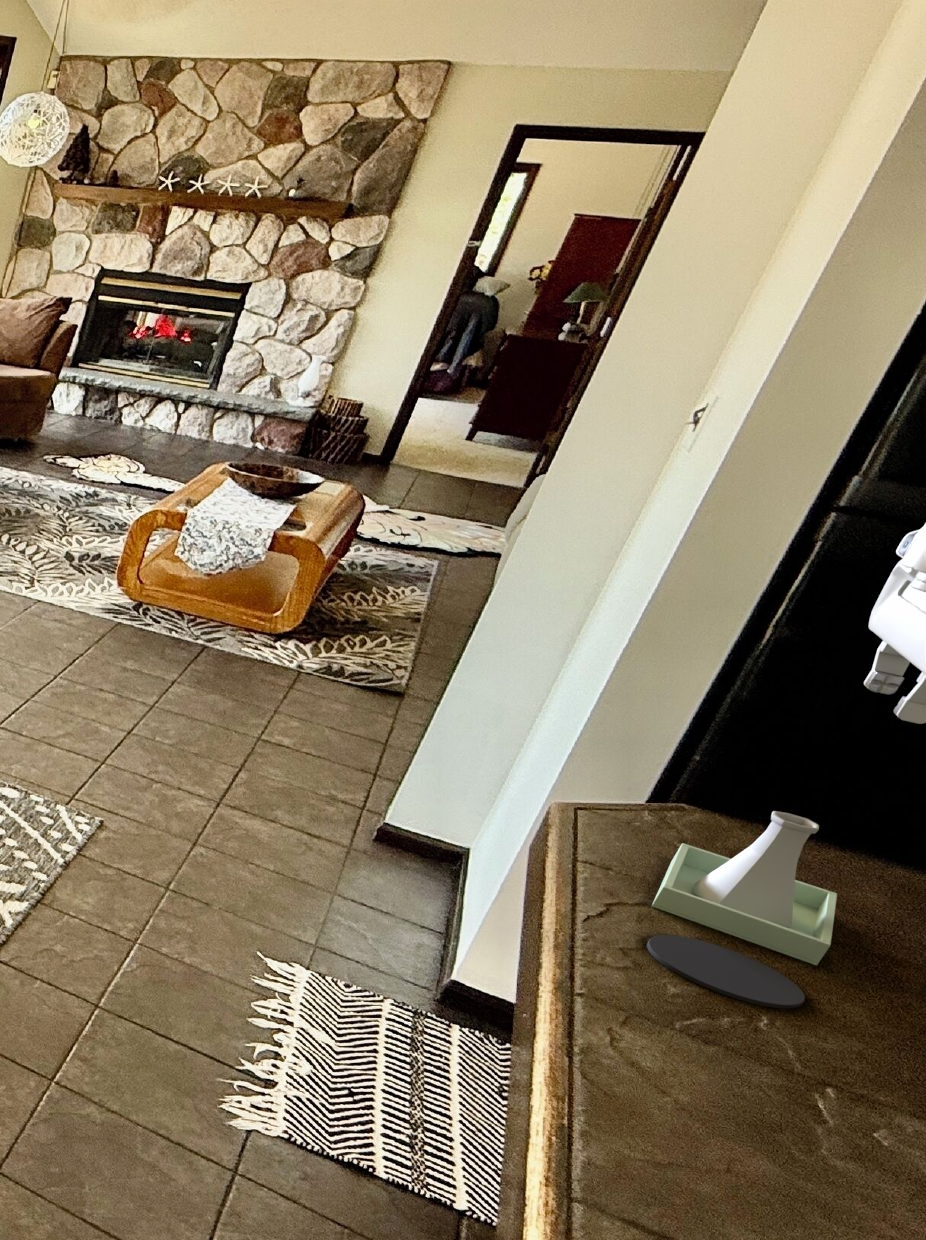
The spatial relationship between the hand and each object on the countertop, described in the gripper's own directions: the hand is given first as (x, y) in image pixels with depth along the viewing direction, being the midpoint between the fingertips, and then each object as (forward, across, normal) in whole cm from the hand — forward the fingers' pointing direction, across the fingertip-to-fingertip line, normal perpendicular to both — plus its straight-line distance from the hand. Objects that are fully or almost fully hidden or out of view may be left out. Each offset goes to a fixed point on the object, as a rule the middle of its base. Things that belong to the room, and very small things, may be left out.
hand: (891, 704), depth 103 cm
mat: (+22, -19, +5) cm, 30 cm away
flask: (+22, -2, +2) cm, 22 cm away
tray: (+22, -2, +2) cm, 23 cm away
